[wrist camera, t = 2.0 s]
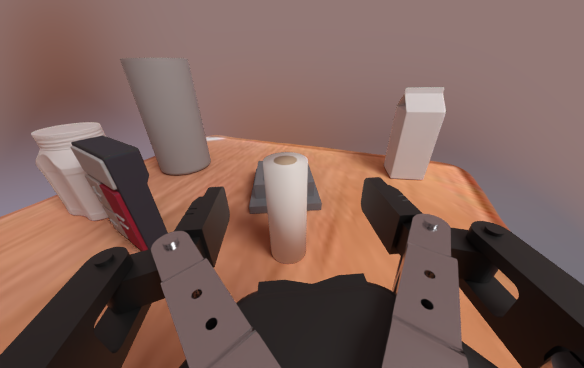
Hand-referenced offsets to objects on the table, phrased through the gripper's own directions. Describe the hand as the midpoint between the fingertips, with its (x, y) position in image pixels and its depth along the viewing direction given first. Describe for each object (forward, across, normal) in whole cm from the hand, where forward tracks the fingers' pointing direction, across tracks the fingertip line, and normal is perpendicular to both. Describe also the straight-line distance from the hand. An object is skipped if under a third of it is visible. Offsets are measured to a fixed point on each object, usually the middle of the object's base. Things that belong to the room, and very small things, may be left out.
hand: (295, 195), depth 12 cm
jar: (+26, +35, +16) cm, 47 cm away
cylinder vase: (+44, +26, +16) cm, 53 cm away
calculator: (+16, +23, +16) cm, 33 cm away
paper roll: (+12, 0, +16) cm, 20 cm away
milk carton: (+34, -29, +17) cm, 47 cm away
